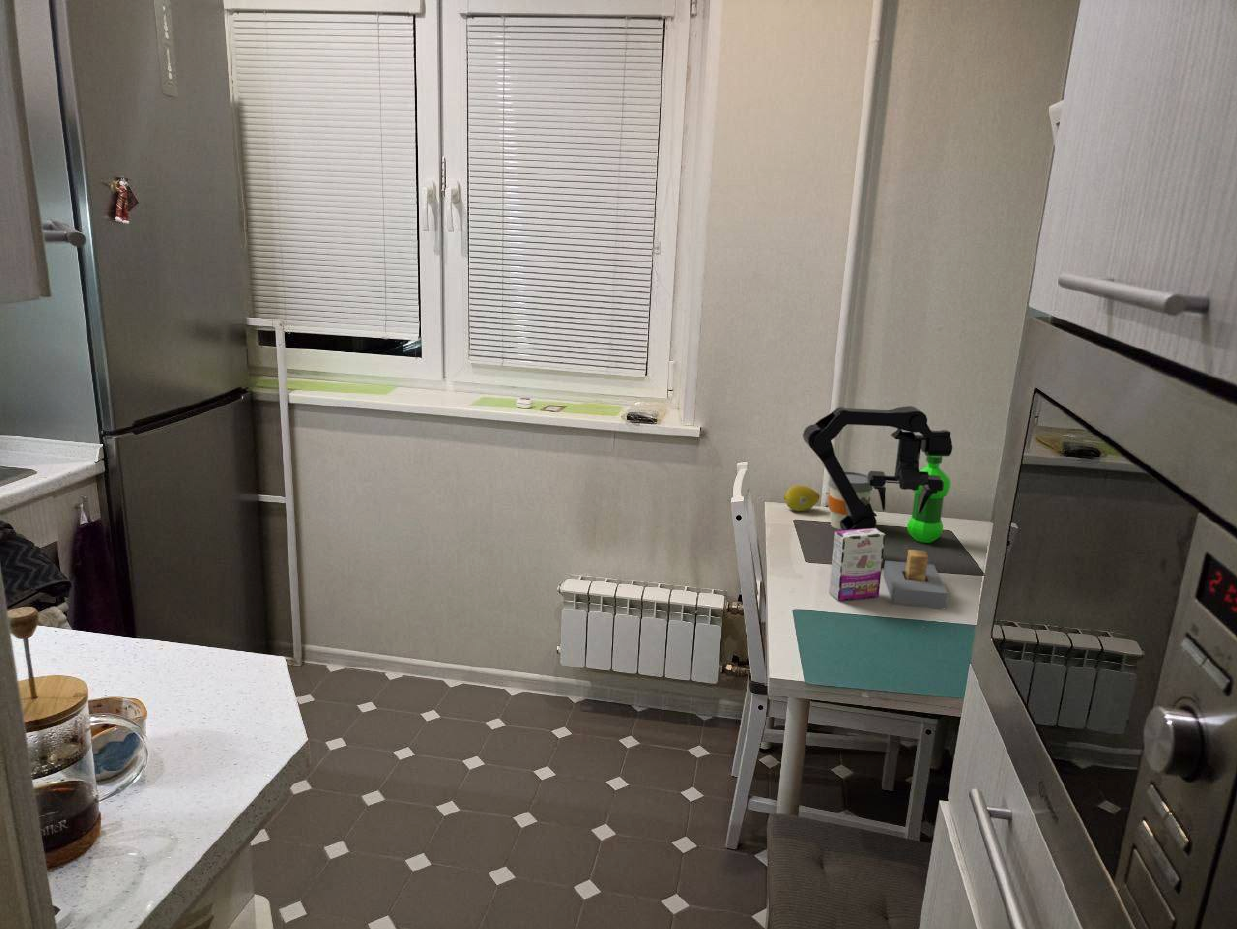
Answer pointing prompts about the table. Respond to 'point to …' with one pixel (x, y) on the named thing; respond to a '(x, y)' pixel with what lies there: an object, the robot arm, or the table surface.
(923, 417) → the robot arm
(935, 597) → the socket block
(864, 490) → the reusable coffee cup
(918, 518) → the plastic bottle
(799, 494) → the lemon
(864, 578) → the candy bar box
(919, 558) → the peg
